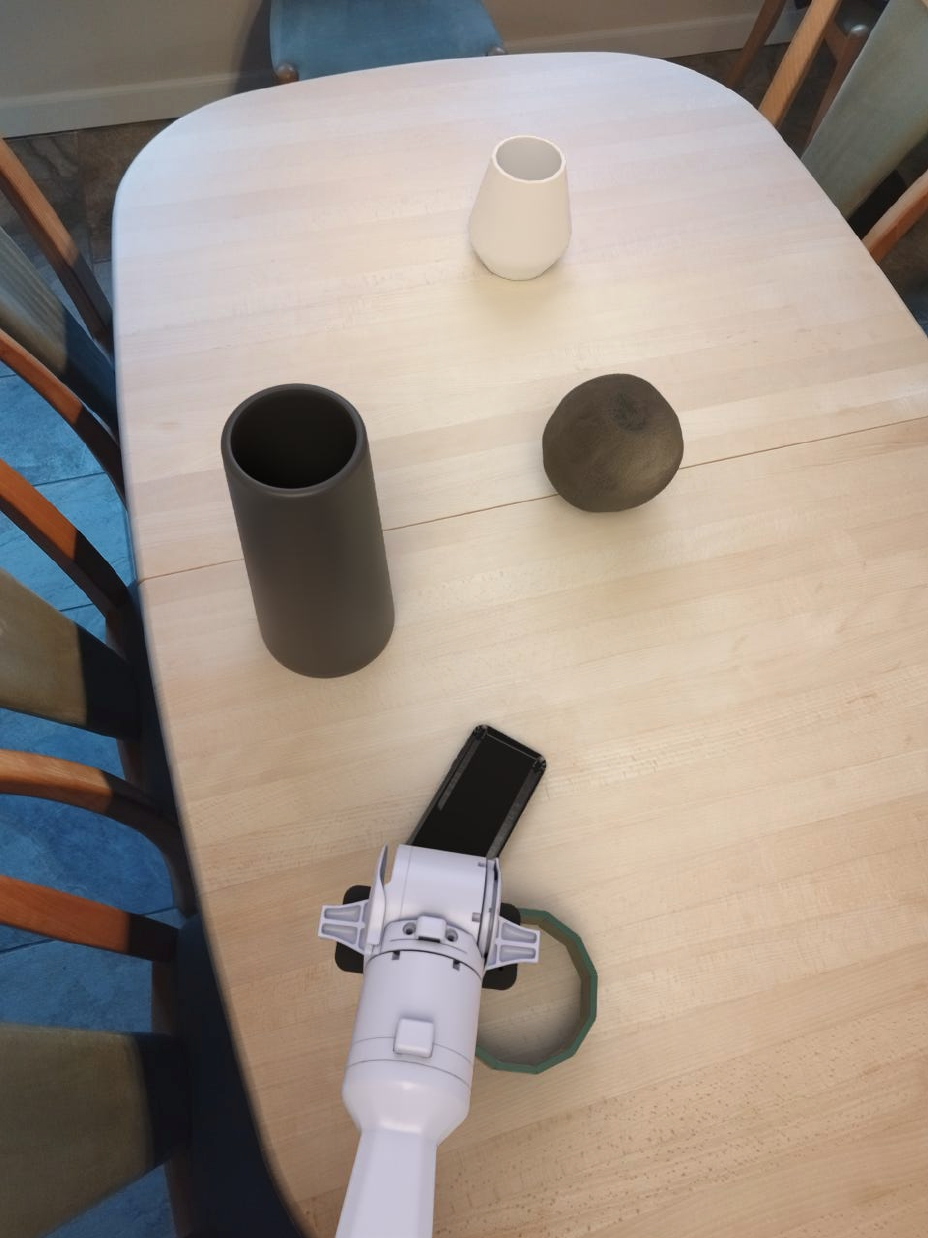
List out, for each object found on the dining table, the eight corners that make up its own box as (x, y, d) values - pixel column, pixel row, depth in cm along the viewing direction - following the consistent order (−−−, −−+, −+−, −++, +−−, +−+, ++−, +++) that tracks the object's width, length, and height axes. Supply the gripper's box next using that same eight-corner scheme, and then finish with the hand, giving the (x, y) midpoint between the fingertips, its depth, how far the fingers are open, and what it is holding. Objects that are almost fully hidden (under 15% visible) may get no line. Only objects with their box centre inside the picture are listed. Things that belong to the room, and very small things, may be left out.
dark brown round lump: (548, 548, 94) (571, 464, 80) (523, 444, 100) (541, 350, 87) (672, 535, 96) (715, 450, 82) (641, 434, 102) (676, 340, 88)
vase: (416, 646, 88) (419, 475, 62) (289, 700, 84) (235, 543, 58) (362, 542, 93) (344, 344, 67) (240, 588, 90) (172, 398, 64)
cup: (490, 208, 118) (499, 108, 106) (581, 241, 116) (602, 143, 104) (448, 269, 112) (453, 171, 100) (543, 305, 110) (560, 210, 98)
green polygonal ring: (584, 1080, 71) (594, 1082, 67) (436, 1063, 71) (437, 1063, 67) (589, 924, 76) (599, 917, 72) (452, 908, 76) (455, 900, 72)
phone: (551, 759, 82) (473, 903, 75) (549, 763, 83) (472, 905, 76) (478, 719, 83) (396, 856, 77) (477, 723, 84) (396, 859, 78)
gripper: (552, 873, 55) (527, 901, 67) (324, 846, 55) (340, 879, 67) (545, 994, 52) (520, 1001, 64) (303, 965, 51) (324, 977, 64)
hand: (427, 945), depth 65 cm, fingers open, 7 cm apart
